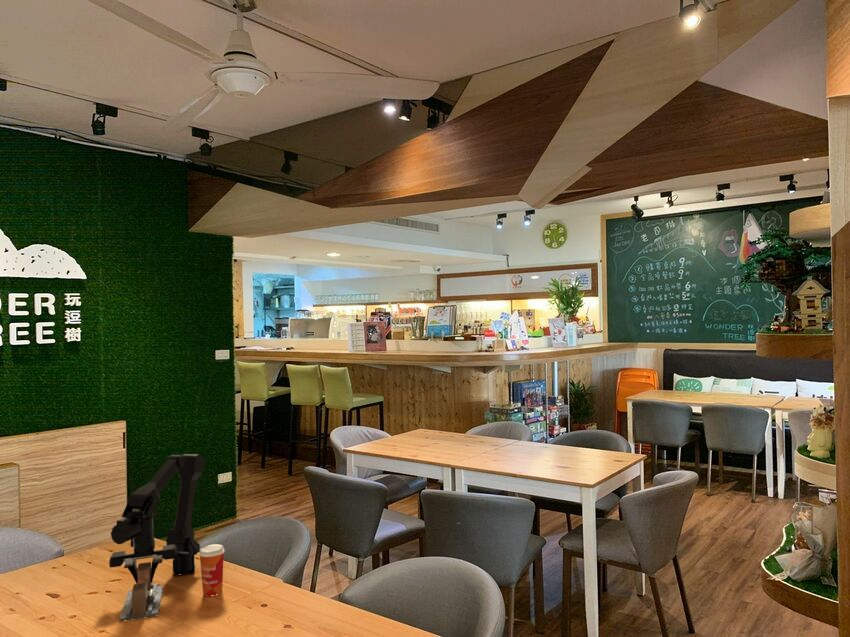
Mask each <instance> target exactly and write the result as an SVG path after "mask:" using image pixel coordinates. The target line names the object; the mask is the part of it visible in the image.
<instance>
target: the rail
mask: <svg viewBox="0 0 850 637" xmlns="http://www.w3.org/2000/svg"><path fill="white" fill-rule="evenodd" d="M163 591H164V585H158V582H156V583H152V585H151V589H150V591H147V583H140V584H136V583H135V584H133V586H132V589H130V590H128V591H127V594H126V598H125V601H124V604H123V606H122V607H123V608H122V610H121V614H120V617H119V622H120V621H124V620H130V621H132V620H131V619H136V620H139V619H138V618H142V619H145V618H144V617H148V618H152V617H151V616H154V617H157V616H156V615H158V616H159V614H158V613H159V612H160V608H161V604H162V598H163V597H162V596H163V593H164V592H163ZM162 592H163V593H162ZM161 597H162V598H161ZM124 622H125V621H124Z"/></svg>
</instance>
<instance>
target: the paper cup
mask: <svg viewBox="0 0 850 637" xmlns="http://www.w3.org/2000/svg"><path fill="white" fill-rule="evenodd" d="M225 551H226V550H225V548H224V545H222V544H220V543H219V544H217V543H216V544H215V543H214V544H213V543H212V544H209V545H205V546H203V547H200V550H199V552H198V556H199V561H200V572H201V573H200V575H201V583H202V584H201V586H202V595H203V594H204V595H207V596H211V595H216V594H219V593H221V592H222V593H223V586H224V584H223V583H224V582H223V581H224V580H223V579H224V555H225V554H224V553H225ZM222 593H221V594H222ZM204 595H203V596H204ZM219 595H220V594H219Z"/></svg>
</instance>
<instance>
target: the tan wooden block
mask: <svg viewBox="0 0 850 637" xmlns="http://www.w3.org/2000/svg"><path fill="white" fill-rule="evenodd" d="M151 567H152V561H149V562H141V563H138V565H137V584H140V583H147V591H150V589H151V585H152V584H153V582H152V583H151V581H150V576H151Z"/></svg>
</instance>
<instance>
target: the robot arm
mask: <svg viewBox="0 0 850 637" xmlns="http://www.w3.org/2000/svg"><path fill="white" fill-rule="evenodd" d="M205 463H206V461H205V458H204V457H203V455H202V454H199V453H198V454H197V453H193V454H191V453H183V454H171V455H169V456H167V458H166V461H165V462H164V463H163V465H162V466H161V467H160V468H159V469H158V470H157V471H156V473H155V474H153V476H152V478H151V479H150V480H149V481H148V482H147V483H146V484H145V485H142V486H141V487H138V488H137V489H136V490H135V491H134V492H133V493H131V495H130V496H129V498H128V501H127V503H126V505H125V507H124V510H123V512H122V515H121V519H118V520H116V525H114V526H113V527H112V529H111V531H110V536H111V539H112V541H113V542H114V543H115V544H117V545H122V544H125V543H127V542H130V547H131V548H133V553H129V554H128V553H127V552H126V550H123V551H115V552H113V553H112V554H111V555H110V557H109V562H108V563H109V564H108V566H109V568H119V567H121V566H122V565H123V564H124V565H123V568H124V569H127V570H128V571H129V573H130V574H131V576H132V577H133V580H134V581H135V584H137V568H138V565H137V562H138V561H137V560H144V559H150V558H152V561H151V576H150V581H151V583H152V584H153V579H154V577H155V573H156V570H157V568H158V566H159V564H162V563H163V561H164V560H166V561H167V560H168V561H169V560H172V573H173V576H174V575H178V576H180V575H179V574H185V575H188V574H187V573H192V574H195V573H194V572H196V565H195V564H196V563H195V562H196V561H195V559H196V558H195V557H196V556H195V555H198V554H199V552H200V549H201V545H200V544H199V543H198V542H197V541H196V539H195V530H194V529H193V525H192V518H193V517H192V516H193V512H194V511H193V509H194V502H195V496H196V488H197V481H198V480H199V479H200V478H201V477H200V476H201V475H202V474H203V472H204V468H205V467H204V466H205ZM176 474H178V476H179V478H180V488H179V495H178V500H177V509H176V516H175V524H174V525H173V526H172V528H169V529H168V530H167V533H166V534H167V535H166V540H165V542H166V545H163V546H162V549H156V541H155V540H156V539H155V536H154V534H155V533H154V516H155V515H158V511H157V510H155V508H156V506H157V504H158V503H159V501H160V499H161V498H160V496H161V493H162V491H164V489H165V487H166V486H167V485H168V484H169V482H170V481H171V480H172V479H173V477H175V475H176ZM155 549H156V550H155Z"/></svg>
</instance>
